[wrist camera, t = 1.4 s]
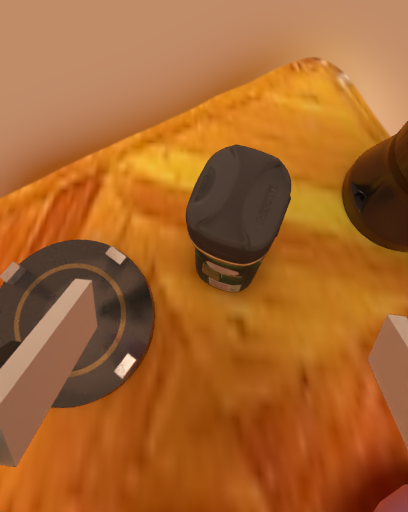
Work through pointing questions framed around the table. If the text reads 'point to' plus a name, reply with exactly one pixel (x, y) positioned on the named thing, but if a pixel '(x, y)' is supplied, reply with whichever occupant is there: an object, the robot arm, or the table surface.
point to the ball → (395, 501)
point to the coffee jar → (236, 214)
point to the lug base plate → (106, 306)
